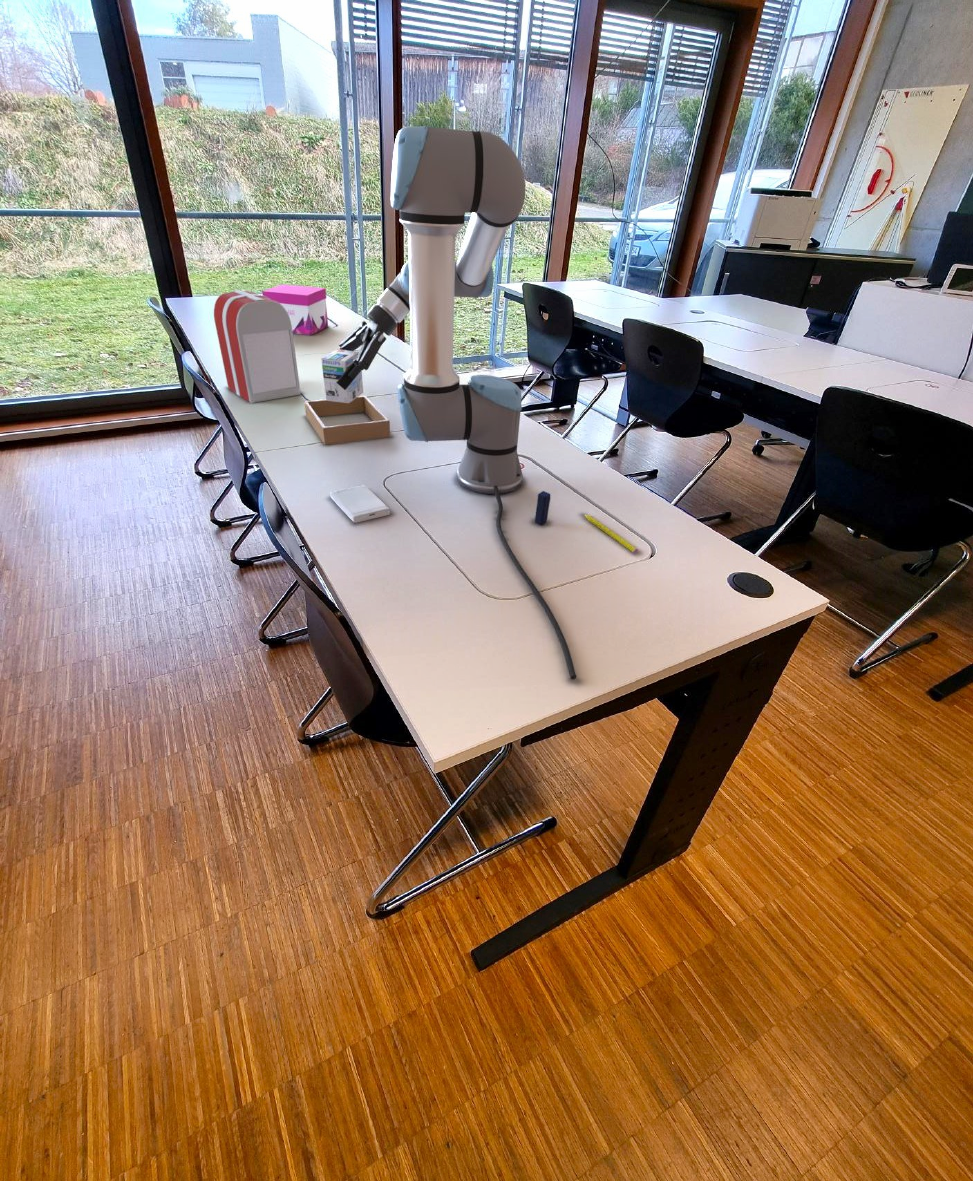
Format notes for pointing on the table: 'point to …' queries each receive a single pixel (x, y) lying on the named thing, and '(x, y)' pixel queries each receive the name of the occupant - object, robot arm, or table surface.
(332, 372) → the light bulb box
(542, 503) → the navy blue rectangular block
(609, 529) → the pencil
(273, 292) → the decorative box
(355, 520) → the hard drive
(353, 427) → the shallow wooden tray
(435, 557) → the table surface
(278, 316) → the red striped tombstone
